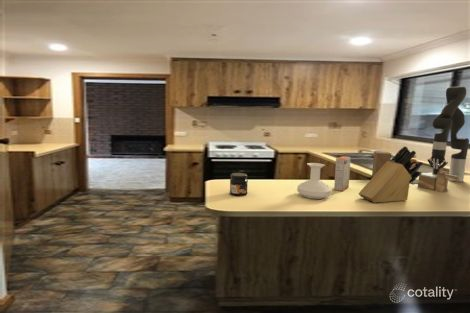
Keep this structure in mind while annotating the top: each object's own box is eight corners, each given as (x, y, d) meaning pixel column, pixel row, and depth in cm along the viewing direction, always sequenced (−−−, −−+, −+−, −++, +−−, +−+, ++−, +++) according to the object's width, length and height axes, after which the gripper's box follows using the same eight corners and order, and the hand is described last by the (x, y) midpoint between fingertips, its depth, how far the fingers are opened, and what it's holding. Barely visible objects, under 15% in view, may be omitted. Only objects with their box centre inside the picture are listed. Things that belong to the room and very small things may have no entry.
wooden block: (388, 179, 235) (391, 153, 232) (374, 178, 237) (377, 152, 234) (385, 176, 245) (387, 151, 242) (371, 176, 247) (374, 151, 244)
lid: (432, 175, 220) (433, 166, 219) (448, 178, 210) (450, 169, 209) (418, 176, 214) (419, 167, 213) (434, 180, 204) (435, 170, 203)
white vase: (317, 190, 196) (319, 161, 193) (338, 199, 177) (341, 166, 175) (290, 193, 189) (292, 162, 186) (308, 202, 171) (311, 168, 168)
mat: (411, 178, 240) (411, 178, 240) (427, 182, 228) (427, 181, 228) (397, 180, 234) (397, 179, 234) (412, 184, 222) (413, 183, 222)
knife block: (420, 200, 181) (426, 147, 176) (371, 204, 171) (376, 148, 166) (405, 194, 192) (410, 145, 187) (357, 198, 181) (362, 146, 177)
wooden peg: (439, 176, 206) (440, 171, 205) (459, 180, 194) (460, 175, 194) (437, 176, 205) (437, 171, 204) (456, 180, 193) (457, 175, 193)
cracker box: (339, 186, 210) (342, 155, 207) (348, 187, 207) (351, 156, 204) (333, 190, 199) (335, 158, 196) (342, 191, 195) (345, 159, 192)
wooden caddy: (431, 184, 221) (433, 167, 219) (454, 190, 206) (456, 172, 204) (417, 186, 215) (419, 168, 213) (440, 192, 201) (443, 173, 199)
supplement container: (231, 197, 177) (231, 176, 176) (228, 192, 188) (228, 172, 186) (249, 196, 179) (249, 176, 178) (245, 191, 190) (245, 172, 188)
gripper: (453, 149, 200) (449, 176, 202) (433, 147, 212) (430, 172, 214) (445, 150, 197) (442, 176, 199) (425, 147, 209) (422, 172, 211)
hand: (435, 174), depth 207 cm, fingers closed
